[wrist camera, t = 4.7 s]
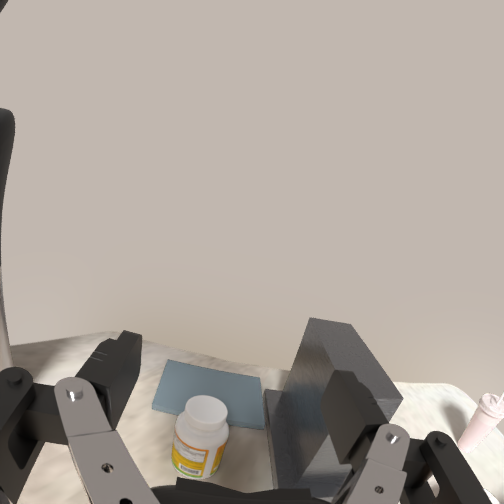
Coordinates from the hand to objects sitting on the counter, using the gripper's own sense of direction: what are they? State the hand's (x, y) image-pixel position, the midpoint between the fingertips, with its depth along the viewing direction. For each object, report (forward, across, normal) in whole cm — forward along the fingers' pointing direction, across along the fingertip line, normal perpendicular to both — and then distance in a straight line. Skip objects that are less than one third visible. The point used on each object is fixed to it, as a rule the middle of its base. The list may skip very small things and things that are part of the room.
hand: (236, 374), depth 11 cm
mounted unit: (+16, -14, +22) cm, 31 cm away
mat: (+24, -1, +22) cm, 33 cm away
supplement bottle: (+11, 0, +23) cm, 25 cm away
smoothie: (+12, -44, +23) cm, 51 cm away
